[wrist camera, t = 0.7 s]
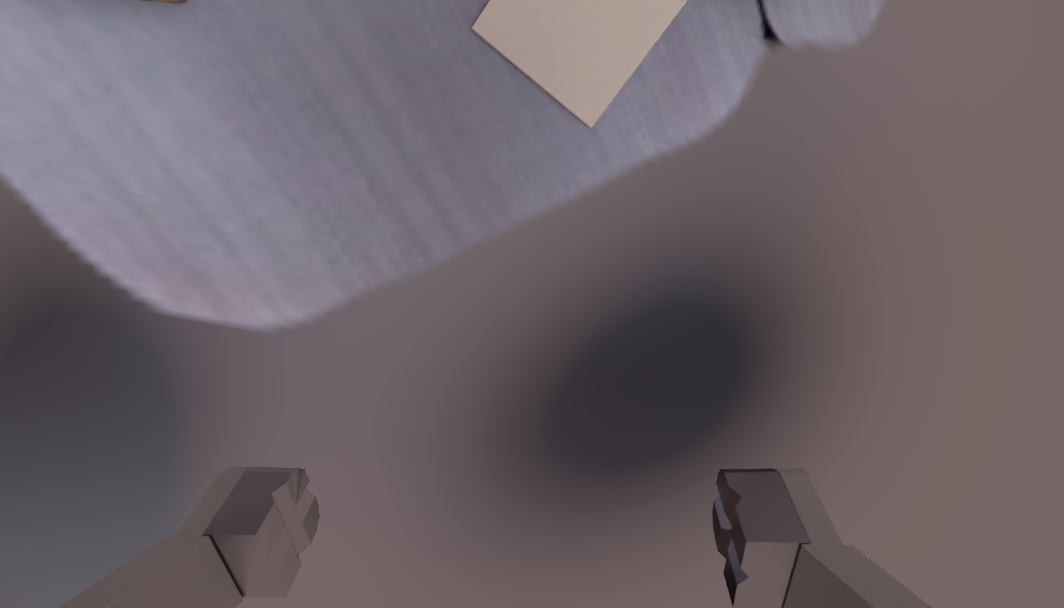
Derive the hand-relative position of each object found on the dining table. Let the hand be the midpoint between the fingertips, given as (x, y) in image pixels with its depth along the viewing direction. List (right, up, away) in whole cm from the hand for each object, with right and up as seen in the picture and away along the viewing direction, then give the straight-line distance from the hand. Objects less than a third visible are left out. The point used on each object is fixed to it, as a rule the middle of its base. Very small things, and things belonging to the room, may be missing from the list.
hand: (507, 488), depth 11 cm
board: (+4, +26, +32) cm, 42 cm away
